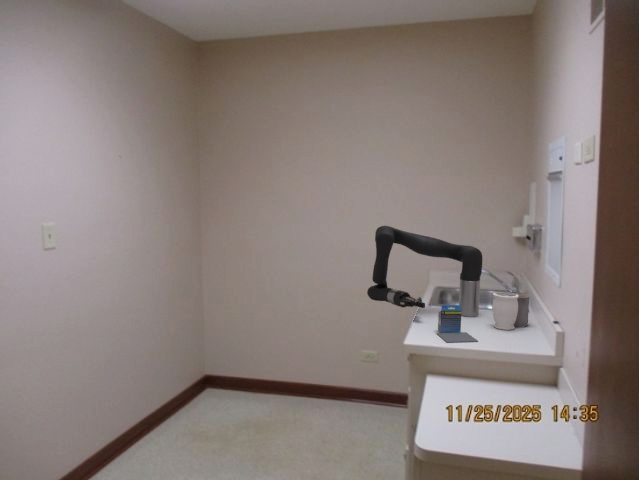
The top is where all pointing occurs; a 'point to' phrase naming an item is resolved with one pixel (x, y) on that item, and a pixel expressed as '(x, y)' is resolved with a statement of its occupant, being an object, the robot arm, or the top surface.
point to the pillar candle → (522, 310)
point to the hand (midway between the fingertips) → (423, 305)
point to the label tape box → (449, 319)
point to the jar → (505, 310)
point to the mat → (457, 337)
